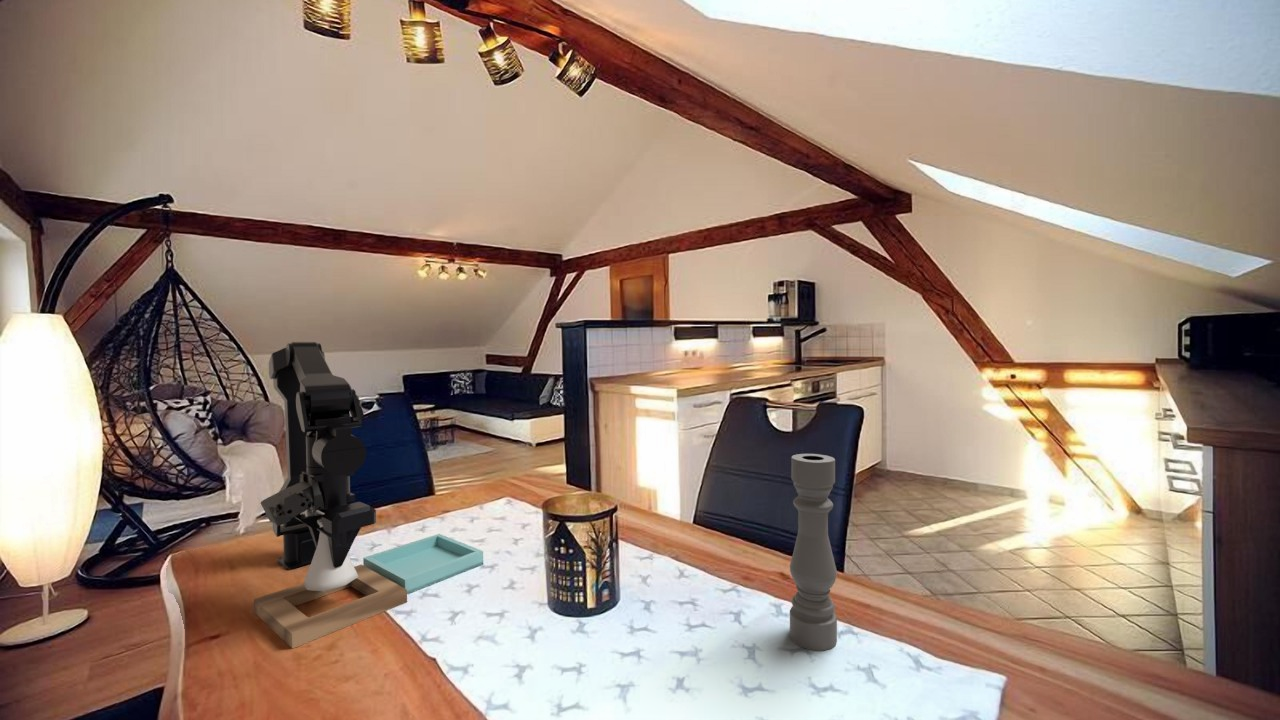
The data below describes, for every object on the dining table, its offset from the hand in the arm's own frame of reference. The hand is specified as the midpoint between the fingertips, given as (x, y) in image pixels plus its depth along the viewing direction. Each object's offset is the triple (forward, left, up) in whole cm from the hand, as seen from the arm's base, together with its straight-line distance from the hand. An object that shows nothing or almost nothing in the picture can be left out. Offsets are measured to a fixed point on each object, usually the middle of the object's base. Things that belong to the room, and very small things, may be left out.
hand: (330, 562), depth 81 cm
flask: (0, 0, -3) cm, 3 cm away
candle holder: (+63, +37, -7) cm, 73 cm away
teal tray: (-2, +16, -7) cm, 18 cm away
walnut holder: (0, 0, -7) cm, 7 cm away
